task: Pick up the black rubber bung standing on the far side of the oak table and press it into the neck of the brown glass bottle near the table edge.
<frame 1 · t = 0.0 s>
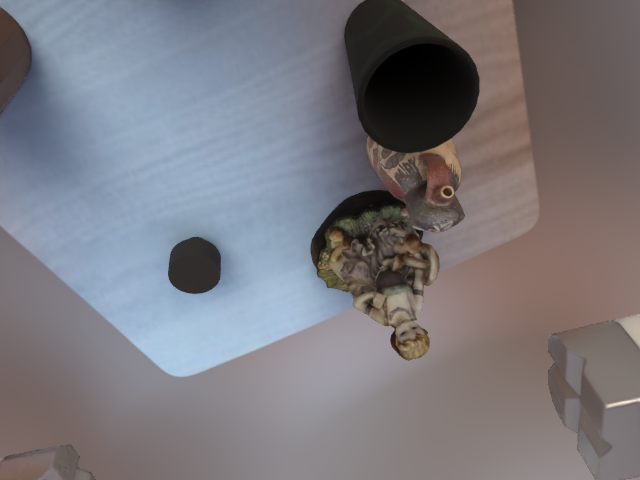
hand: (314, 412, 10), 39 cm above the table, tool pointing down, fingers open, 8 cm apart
figurine: (365, 238, 58), on the table
bung: (196, 245, 56), on the table
cup: (379, 32, 46), on the table
figurine 2: (404, 140, 52), on the table
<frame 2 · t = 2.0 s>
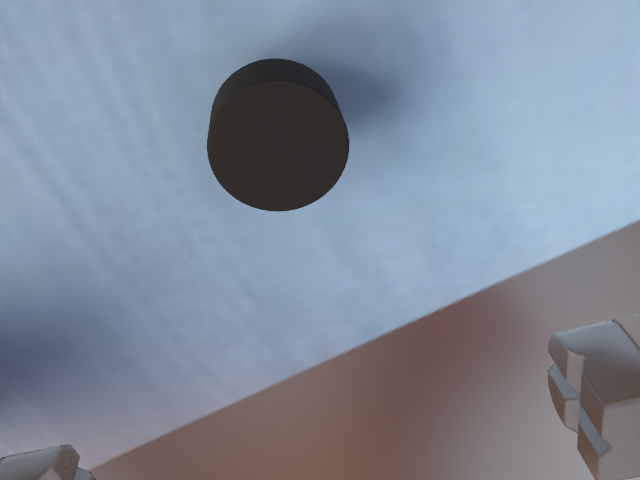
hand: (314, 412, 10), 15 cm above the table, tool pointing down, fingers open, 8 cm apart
bung: (273, 105, 23), on the table
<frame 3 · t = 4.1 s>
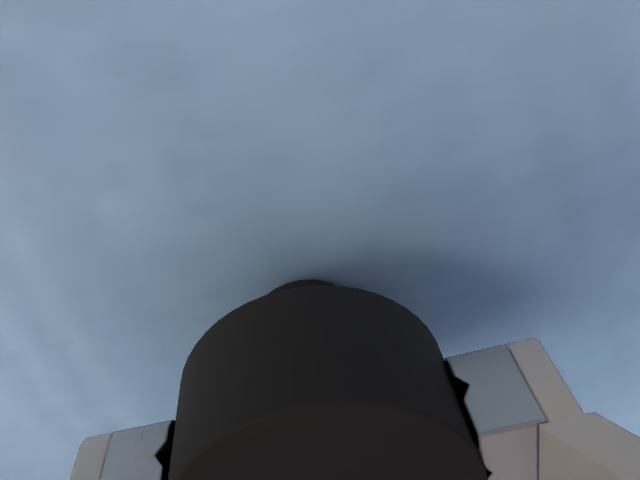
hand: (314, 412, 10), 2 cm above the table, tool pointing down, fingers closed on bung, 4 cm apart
bung: (305, 322, 12), on the table, touching gripper
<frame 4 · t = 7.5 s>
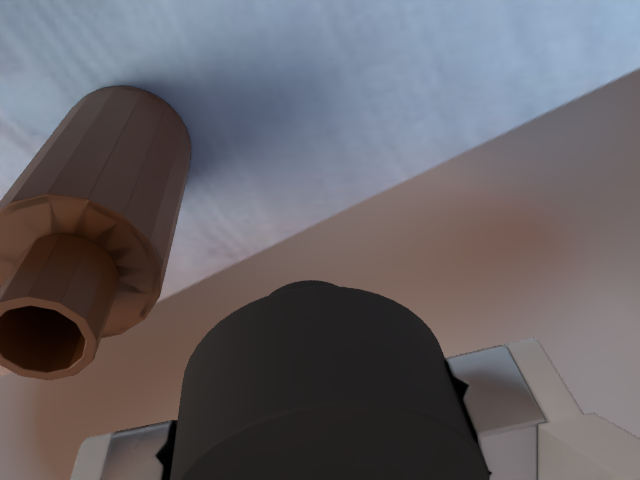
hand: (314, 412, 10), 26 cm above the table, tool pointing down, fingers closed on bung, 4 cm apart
bottle: (129, 145, 35), on the table
bung: (307, 322, 12), point 24 cm above the table, touching gripper
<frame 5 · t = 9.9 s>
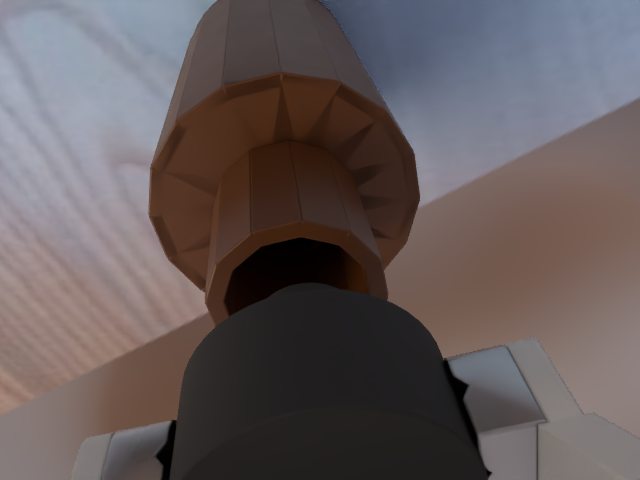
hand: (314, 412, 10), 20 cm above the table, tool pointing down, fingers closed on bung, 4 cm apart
bottle: (269, 67, 27), on the table
bung: (306, 324, 12), point 18 cm above the table, touching gripper
when the fingers open (17 cm above the table, at t = 11.3 s): bung stays where it is, resting on bottle.
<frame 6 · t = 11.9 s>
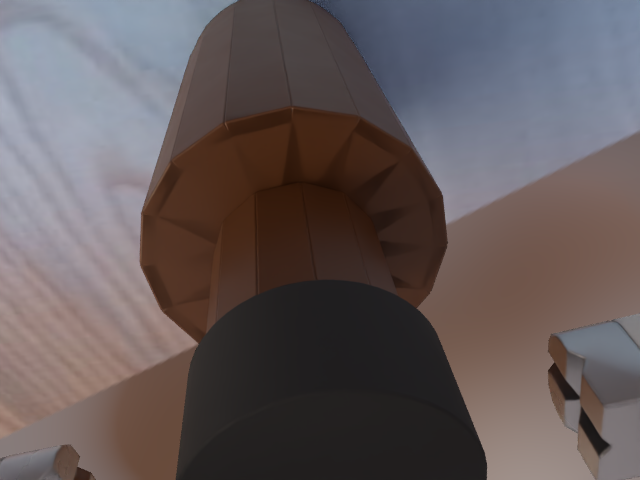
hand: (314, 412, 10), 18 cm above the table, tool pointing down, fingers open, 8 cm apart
bottle: (276, 83, 25), on the table
bung: (309, 316, 12), point 15 cm above the table, touching bottle
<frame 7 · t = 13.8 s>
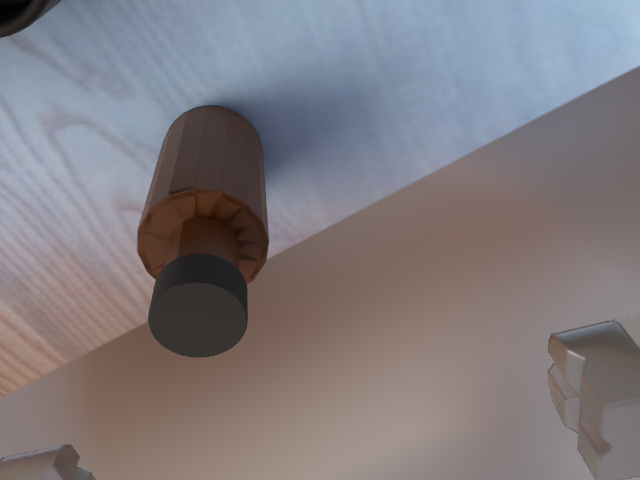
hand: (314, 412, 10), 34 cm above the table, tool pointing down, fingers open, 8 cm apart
bottle: (213, 152, 44), on the table
bung: (203, 270, 31), point 15 cm above the table, touching bottle
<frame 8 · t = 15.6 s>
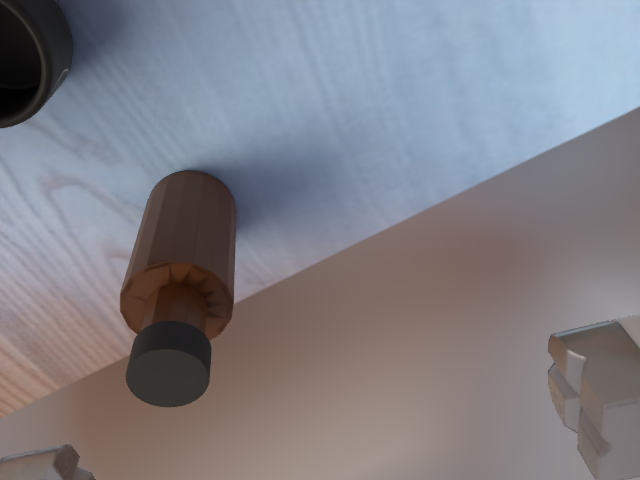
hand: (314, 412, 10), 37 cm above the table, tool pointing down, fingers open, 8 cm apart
bottle: (192, 209, 49), on the table
bung: (175, 329, 37), point 15 cm above the table, touching bottle
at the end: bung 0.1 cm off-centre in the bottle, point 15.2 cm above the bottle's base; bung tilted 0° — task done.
